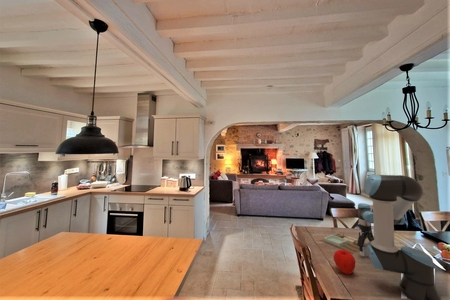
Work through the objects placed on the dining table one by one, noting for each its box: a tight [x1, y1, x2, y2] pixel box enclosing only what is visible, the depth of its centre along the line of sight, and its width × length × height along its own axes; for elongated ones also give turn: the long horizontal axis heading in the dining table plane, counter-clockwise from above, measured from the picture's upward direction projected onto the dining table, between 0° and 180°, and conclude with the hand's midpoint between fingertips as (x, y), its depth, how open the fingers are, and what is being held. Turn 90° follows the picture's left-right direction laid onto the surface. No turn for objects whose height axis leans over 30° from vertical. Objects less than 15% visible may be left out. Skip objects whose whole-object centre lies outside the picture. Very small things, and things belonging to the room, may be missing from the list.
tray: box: [323, 234, 348, 249], centre depth 151 cm, size 12×13×3 cm
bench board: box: [320, 231, 359, 255], centre depth 151 cm, size 28×26×6 cm
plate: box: [343, 235, 358, 245], centre depth 152 cm, size 8×8×2 cm
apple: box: [333, 249, 356, 275], centre depth 114 cm, size 12×12×13 cm
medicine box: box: [363, 242, 371, 257], centre depth 132 cm, size 8×4×9 cm, turn 92°
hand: (366, 252), depth 132 cm, fingers open, 13 cm apart
